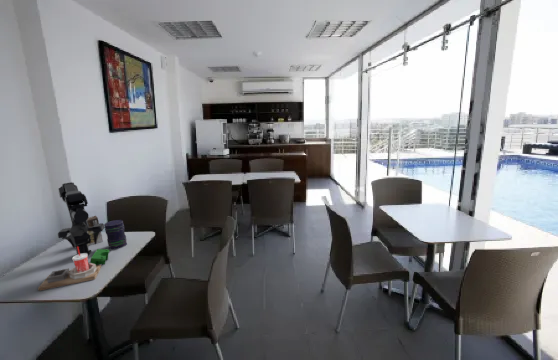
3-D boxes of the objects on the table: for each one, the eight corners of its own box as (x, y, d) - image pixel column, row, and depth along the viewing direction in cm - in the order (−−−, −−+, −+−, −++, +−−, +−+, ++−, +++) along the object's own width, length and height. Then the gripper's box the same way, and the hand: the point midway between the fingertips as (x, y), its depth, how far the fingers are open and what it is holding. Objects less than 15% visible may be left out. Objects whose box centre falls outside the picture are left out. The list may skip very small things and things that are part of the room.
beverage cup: (82, 276, 130) (76, 249, 127) (72, 275, 132) (66, 249, 129) (94, 270, 136) (88, 244, 133) (84, 268, 138) (78, 243, 135)
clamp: (103, 272, 144) (103, 261, 140) (90, 272, 142) (89, 261, 138) (110, 255, 154) (109, 243, 150) (98, 254, 152) (97, 243, 148)
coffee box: (101, 238, 179) (96, 215, 175) (103, 241, 174) (98, 217, 170) (84, 243, 173) (79, 219, 169) (86, 246, 168) (80, 221, 164)
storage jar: (124, 240, 173) (120, 218, 170) (129, 245, 166) (125, 222, 163) (106, 246, 166) (101, 223, 163) (111, 251, 160) (106, 227, 156)
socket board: (50, 277, 134) (48, 269, 134) (101, 267, 142) (99, 260, 141) (38, 290, 123) (36, 283, 122) (94, 279, 130) (93, 271, 130)
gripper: (49, 226, 127) (57, 256, 130) (95, 219, 133) (102, 249, 136) (59, 218, 137) (66, 246, 140) (102, 212, 143) (107, 240, 146)
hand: (85, 245), depth 140 cm, fingers open, 9 cm apart
